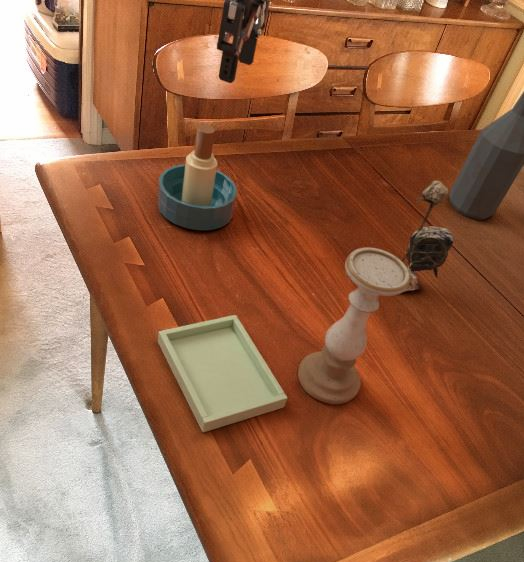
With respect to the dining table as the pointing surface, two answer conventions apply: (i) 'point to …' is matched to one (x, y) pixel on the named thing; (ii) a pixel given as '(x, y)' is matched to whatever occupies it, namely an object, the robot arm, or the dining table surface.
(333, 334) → the candle holder
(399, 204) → the dining table surface
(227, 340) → the tray
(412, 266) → the stone bird figurine
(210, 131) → the stoneware bottle
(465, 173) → the bottle
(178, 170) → the bowl
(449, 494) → the dining table surface
